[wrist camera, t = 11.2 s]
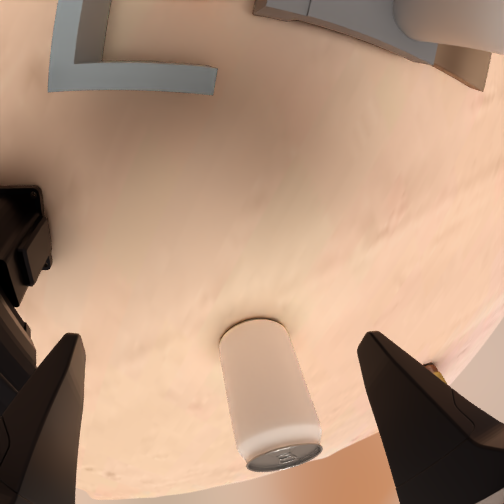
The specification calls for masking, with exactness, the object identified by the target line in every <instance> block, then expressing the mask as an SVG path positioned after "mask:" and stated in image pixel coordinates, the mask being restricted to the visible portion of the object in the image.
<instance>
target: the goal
mask: <svg viewBox="0 0 504 504" xmlns="http://www.w3.org/2000/svg"><path fill="white" fill-rule="evenodd" d="M110 5H111V0H58V5H57V11H56V17H55V23H54V30H53V37H52V45H51V54H50V64H49V77H48V92H60V91H79V90H146V91H167V92H182V93H194V94H204V95H213V93H214V87H215V81H216V76H217V70H218V69H217V68H214V67H211V66H206V65H196V64H185V63H171V62H151V61H102V56H103V49H104V41H105V34H106V28H107V22H108V16H109V11H110Z"/></svg>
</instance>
